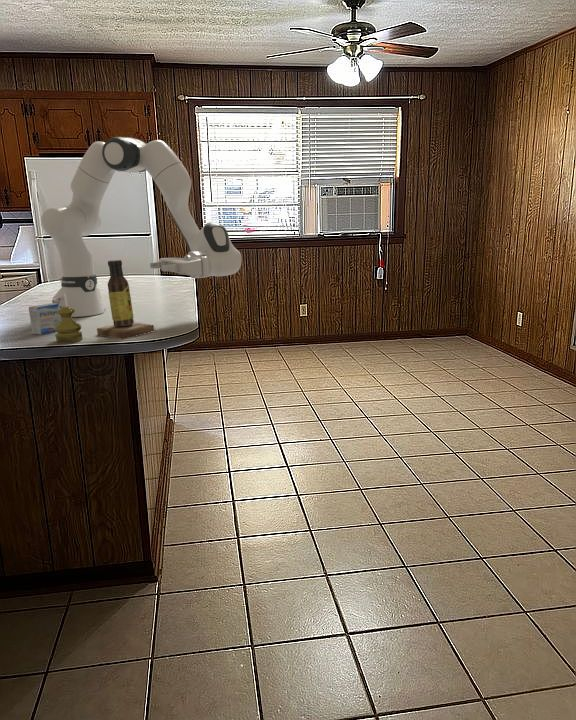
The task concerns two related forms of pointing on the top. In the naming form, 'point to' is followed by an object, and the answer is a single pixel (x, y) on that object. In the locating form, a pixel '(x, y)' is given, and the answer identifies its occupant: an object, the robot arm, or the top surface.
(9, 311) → the top surface
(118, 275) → the sauce bottle
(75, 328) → the gold stacked ornament
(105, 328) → the walnut tray
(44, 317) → the medicine box
